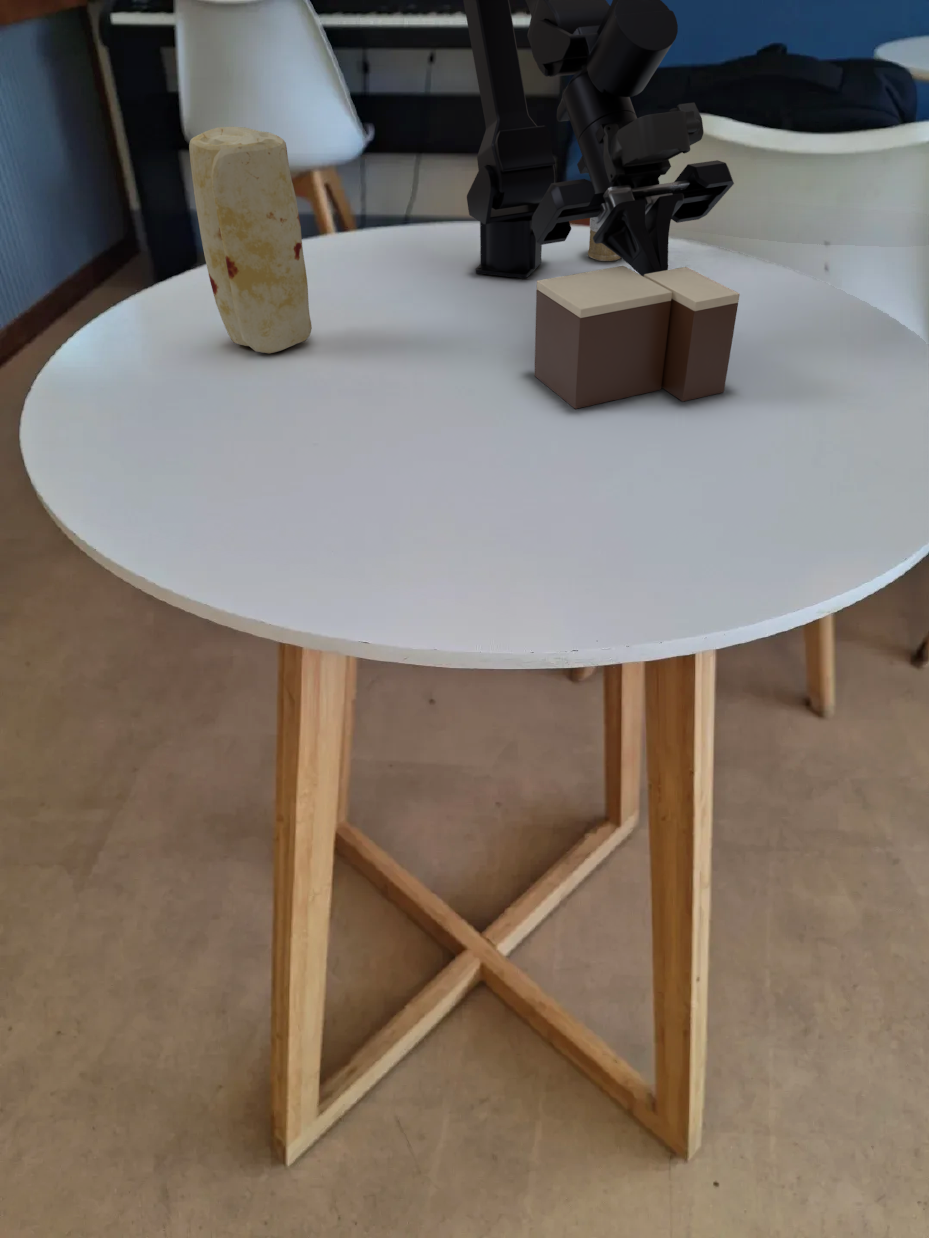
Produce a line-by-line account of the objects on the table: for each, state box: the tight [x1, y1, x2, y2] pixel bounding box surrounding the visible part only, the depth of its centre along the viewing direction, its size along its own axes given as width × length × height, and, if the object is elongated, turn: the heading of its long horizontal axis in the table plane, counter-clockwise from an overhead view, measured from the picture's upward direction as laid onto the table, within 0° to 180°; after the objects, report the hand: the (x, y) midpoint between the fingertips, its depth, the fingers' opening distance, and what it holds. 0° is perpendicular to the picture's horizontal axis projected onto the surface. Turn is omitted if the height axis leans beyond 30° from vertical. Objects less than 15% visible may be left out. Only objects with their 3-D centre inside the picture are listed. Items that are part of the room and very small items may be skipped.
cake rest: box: [533, 265, 672, 410], centre depth 84 cm, size 8×9×9 cm
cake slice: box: [644, 266, 740, 402], centre depth 84 cm, size 8×4×9 cm, turn 24°
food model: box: [188, 126, 313, 355], centre depth 90 cm, size 10×7×20 cm
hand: (661, 286), depth 86 cm, fingers closed, pressing on cake slice
